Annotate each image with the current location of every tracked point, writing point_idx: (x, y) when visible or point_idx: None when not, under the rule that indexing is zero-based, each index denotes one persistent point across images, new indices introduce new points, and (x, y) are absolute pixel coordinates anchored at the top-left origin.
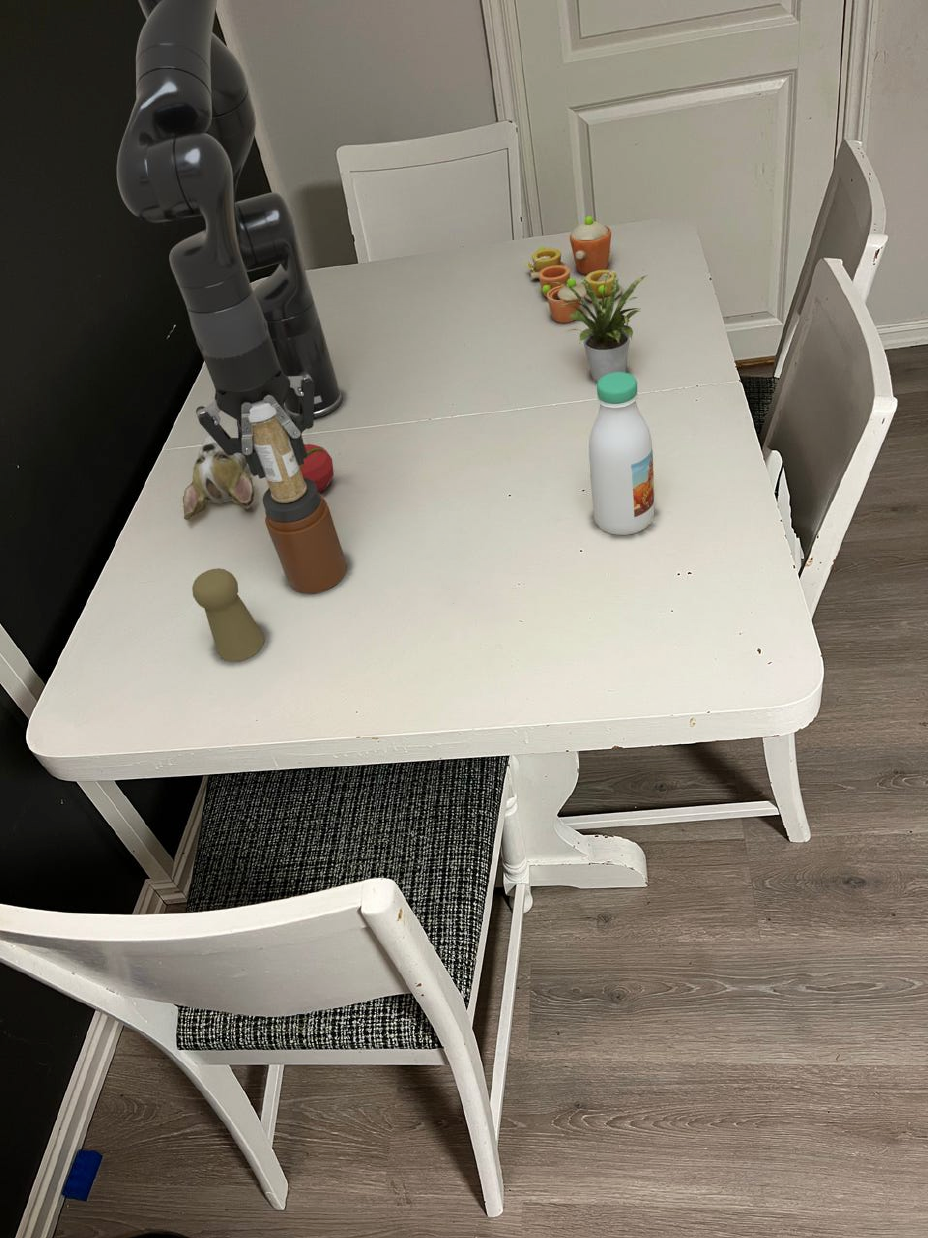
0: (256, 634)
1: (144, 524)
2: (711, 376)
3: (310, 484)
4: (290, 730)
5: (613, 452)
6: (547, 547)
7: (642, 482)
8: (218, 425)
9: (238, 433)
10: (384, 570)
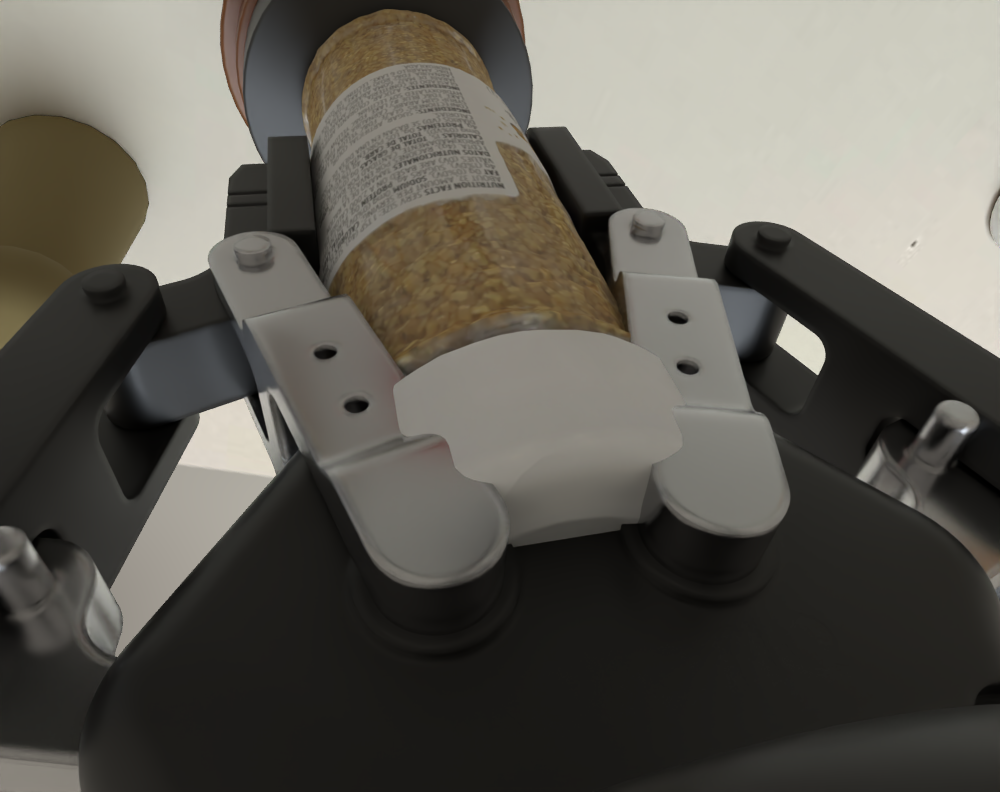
0: (132, 242)
1: None
2: None
3: (510, 88)
4: (218, 456)
5: None
6: (885, 202)
7: None
8: (73, 519)
9: (237, 335)
10: (549, 81)
